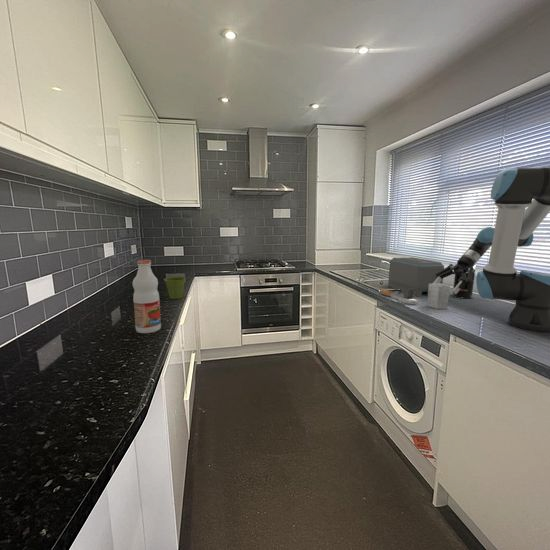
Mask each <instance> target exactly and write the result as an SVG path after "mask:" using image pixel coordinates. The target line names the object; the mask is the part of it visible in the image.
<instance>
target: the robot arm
mask: <svg viewBox="0 0 550 550" xmlns="http://www.w3.org/2000/svg"><path fill="white" fill-rule="evenodd" d="M490 199H491V200H493V201H494V205H495V206H496V207H497V208H498V209H497V215H496V218H495V226H494V227H492V226H487V227H484V228H482V229H481V230H480V231H479V232H478V234H477V236H476V237H475V239H474V240H473V242H472V244H470V246H469V247H468V249H467V250H465V252H464V253H463V254H462V256H460V258H458V260H457V261H456V263H457V264H456V263H455V265H454V264H452V263H450V264H449V265H448V266H446V267H444V269H443V270H441V271H440V272H438V273H437V274H436V276H437V278H436V279H435V281H434V282H433V283H440V282H441V281H442V278H443V279H444V278H447V277H450V276H451V275H455V274H460V275H462V281H463V282H462V281H460V282H459V283H458V285H457V286H456V287H455V288H454V289H453V288H452V293H453V292H454V293H455V294H457V293H458V292H459V290H460V289H462V288H463V287H464V286H465V285H467V284H469V285H470V284H471V282H472V277H473V273H474V272H475V273H476V270H474V268H473V266H474V265H475V264H476V265H477V263H478V261H480V259H481V258H482V256H483V255H485V253H486V252H487V251H488V250H489V249H490V252H489V253H490V254H489V259H488V263H487V264H486V265H484V266H483V267H482V270H481V271H477V273H476V277H475V280H476V281H475V282H476V289H477V290H476V291H477V293H478V295H479V296H480V297H481V298H483V299H489V300H490V299H491V300H503V301H514V302H515V305H514V307H513V309H512V310H511V312H510V314H509V315H508V318H507V323H508V324H509V325H511V326H513V327H517V328H520V329H523V330H527V331H528V330H529V331H533V332H534V331H535V332H540V333H541V332H542V333H543V332H544V333H545V332H546V333H548V332H549V333H550V274H548V273H542V272H537V271H531V270H523V269H522V270H520V272H519V273H518V270H517V269H516V267H514V265H515V260H516V255H517V250H518V248H523V247H530V246H532V244H533V241H534V234H533V233H534V232H535V230H537V228H538V227H539V226H540V224H541V223H542V222H543V221H544V219H546V217H547V215H548V214H549V213H550V166H543V167H539V166H538V167H518V168H516V167H515V168H508V169H506V168H505V169H503V170H501V171H500V172H498V174H497V175H496V177H495V178H494V180H493V183H492V187H491V191H490ZM466 272H468V276H467V279H466ZM441 276H442V277H441Z"/></svg>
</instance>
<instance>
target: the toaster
mask: <svg viewBox="0 0 550 550" xmlns="http://www.w3.org/2000/svg"><path fill="white" fill-rule="evenodd" d="M388 269H389V271H388V283H387V287H389V288H392V289H395V290H397V289H400V290H401V291H400V292H403V293H404V289H412V290H413V297H420V296H421V295H422V293H423V292H424V293H425V292H426V293H428V287H429V284H431V283H433V282H434V281H435V279H436V278H437V276H436V274H437V273H438V272H440V271H441V270H443V269H445V265H444V264H443V263H442V262H441V261H436V260H430V259H424V258H417V257H412V256H411V257H392V259H391V260H390V259H389V268H388ZM441 277H442V276H441ZM443 282H444V278H442V281H441V282H440V283H441V284H444V283H443Z"/></svg>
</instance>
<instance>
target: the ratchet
mask: <svg viewBox="0 0 550 550" xmlns="http://www.w3.org/2000/svg"><path fill="white" fill-rule="evenodd" d="M381 293H383V294H385V295H387V296H386V297H388V296H391V297H394V298H396V299H395V300H397V299H398V300H397V302H398V301H399V302H401V303H404V304H403V305H405V304H409V305H408V306H417V305H418V304H419V298H417V297H416V296H413V290H412V289H404V292H403V295H400V294H398V293H395V291H392V290H389V289H380V294H381ZM385 295H384V296H385ZM391 297H390V298H391ZM394 298H393V299H394ZM399 302H398V303H399ZM401 303H400V304H401ZM416 304H417V305H416Z"/></svg>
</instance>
